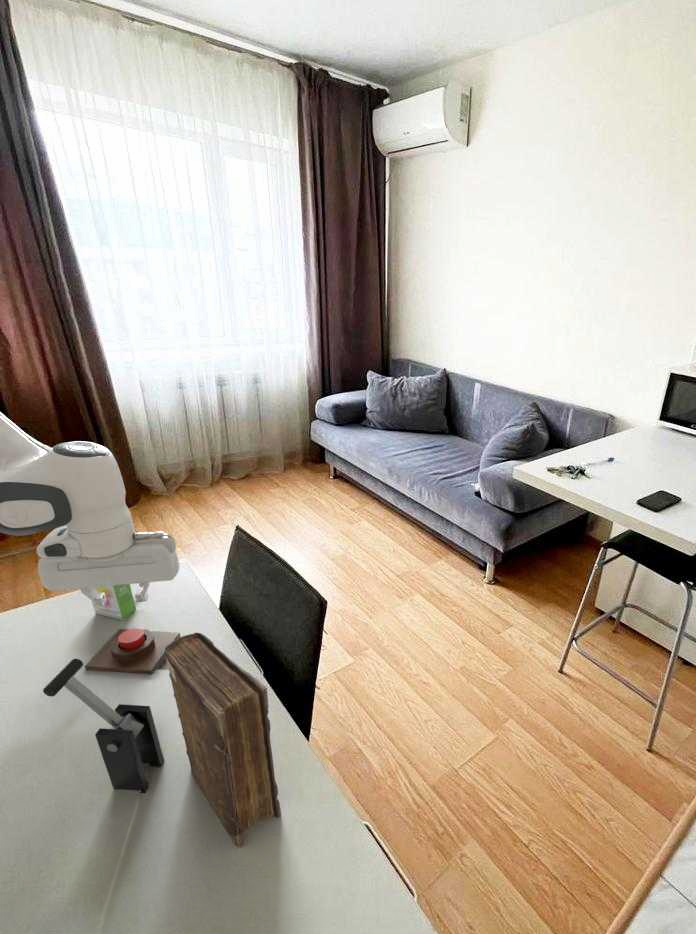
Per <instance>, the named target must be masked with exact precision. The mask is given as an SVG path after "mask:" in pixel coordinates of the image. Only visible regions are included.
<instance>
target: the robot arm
mask: <svg viewBox="0 0 696 934" xmlns="http://www.w3.org/2000/svg"><path fill="white" fill-rule="evenodd" d="M126 494H127V491H126V487H125V484H124V479H123V476H122V473H121V470H120V467H119V464H118V462H117V459H116V458H115V456H114V455H113V453H112V452H111V450H109V449H108V448H107V447H106V446H103V445H101V444H98V443H96V442H92V441H81V440H75V441H73V440H72V441H68V442H67V441H66V442H61V443H57V444H56V445H53V446H52V447H51V446H49V445H46V444H44V443H42V442H40V441H38V440H37V439H35V438H33V437H32V436H30V435H29V434H28V433H26V432H25V431H24V430H22V429H21V428H20V427H19V426H18V425H16V423H14V422H13V421H12V420H11V419H9V418H8V417H7V416H6V415H5V414H4V413H2V412H1V411H0V533H1V534H5V535H10V536H17V537H18V536H29V535H33V534H38V533H42V532H47V531H50V532H49V533H48V534H47V535H46V536H45V537H43V539H42V540H41V541H40V543H39V544H38V546H37V547H36V554H37V555H38V557H40V559H39V560H38V562H37V568H38V569H37V570H38V574H39V578H40V582H41V586H42V587H44V589H46V590H48V591H50V592H55V591H68V590H77V589H80V592H81V594H83V595H84V596H85V597H86V598H88V599H89V600H91V603H93V604H92V607H94V606H103V605H104V603H106V597H105V593H99V592H98V591H97V590H96V589H95V588H94V587H102V586H113V585H124V584H130V585H134V584H135V585H136V584H138V585H139V587H140V588H138V589H137V590H136V592H135V593H134V598H135V602H136V603H144V602H147V601H148V598H149V592H148V588H149V587H150V584H151V583H157V582H168V581H173V580H174V579H175V578H176V577H177V575H178V573H179V571H180V567H181V566H180V565H181V564H180V560H179V558H178V555H177V552H176V549H177V548H176V547H177V546H176V540H175V538H174V537H173V536H172V535H171V534H169V533H165V532H164V531H154V532H153V531H152V532H147V531H146V532H145V531H144V532H136V530H135V525H134V522H133V517H132V513H131V510H130V508H129V507H128V506H127V503H126ZM51 530H52V531H51Z"/></svg>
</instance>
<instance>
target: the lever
mask: <svg viewBox="0 0 696 934" xmlns="http://www.w3.org/2000/svg"><path fill="white" fill-rule="evenodd" d="M83 667H84V662H83V661H82V660H81V659H79V658H72V659H71V660H70V661H69V663H67V664H66V665H65V667H63V669H62V670H60V671H59V673H58V674H56V676H54V677H53V679H51V681H50V682H48V683H47V685H46V686H44V688H43V689H42V692H43V693H44V695H46V696H47V697H55V696H56V695H58V693H59V692H60V691H61V690H62V689H63V688H66V689H67V690H68V691H69V692H70V693H71V694H73V695H74V696H75V697H76V698H78V699H79V700H80V702H81V701H82V703H84V704H85V705H86V706H87V707H88V708H90V709H91V710H92V711H93V712H94V713H95V714H97V715H98V716H99V717H100V718H102V719H103V721H106V722H107V723H108V724H109V725H110V726H111V727H110V729H117V730H132V731H133V734H134V737H135V738H136V737H137V735H138V734H139V732H140V731H141V729H142V728H143V727H144V725H143V724H142V723H141V722H139V721H138V720H137V719H136V718H135V717H134V716H132V715H131V714H130V713H129V714H127V715H125V716H123V717H121V716H120V715H119V714H118V713H117V712H115V709H113V708H112V707H111V706H109V704H107V703H106V702H105V701H104V700H102V699H101V698H100V697H99V696H98V695H96V694H95V693H94V692H93V691H92V690H90V689H89V688H88V687H87V686H86V685H85V684H84V683H82V681H80V680H79V679H78V678H77V677H75V675H77V673H78V672H79V671H80V670H81V669H82V668H83Z"/></svg>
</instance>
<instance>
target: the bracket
mask: <svg viewBox="0 0 696 934" xmlns="http://www.w3.org/2000/svg"><path fill="white" fill-rule="evenodd" d="M114 711H115V712H117V713H118V714H119V715H120V716H121V717H123V716H125V715H127V714H129V713H130V714H131V715H132V716H134V717H135V718H136V719H137V720H138V721H139V722H141V723H142V724H143V725H144V727H143V728H142V729H141V731H140V732H139V734H138V735H137V737H136V738H135V737H134V734H133V731H132V730H117V729H111V728H103V727H102V728H101V727H100V728H99V729H98V730H97V732H95V734H94V736H95V739H96V742H97V744H98V748H99V750H100V753H101V756H102V759H103V762H104V765H105V768H106V771H107V775H108V777H109V779H110V782H111V785H112V789H113V790H120V791H121V790H123V791H136V792H137V791H138V792H139V794H146V793H147V792H148V789H150V785H149V782H148V779H147V774H146V771H145V768H144V765H148V767H153V768H161V767H162V766H163V764H164V763H165V758H164V754H163V750H162V747H161V743H160V739H159V735H158V732H157V728H156V723H155V721H154V715H153V713H152V709H151V706H150V705H142V704H141V705H140V704H139V705H138V704H122V703H119V704H117V706H116V707H115V709H114Z"/></svg>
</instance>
